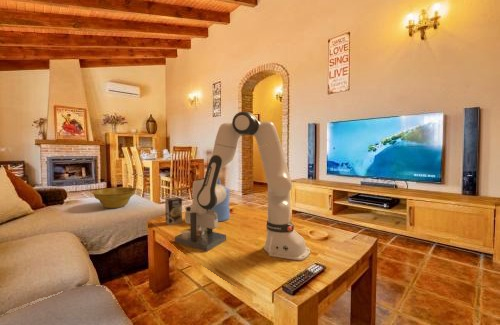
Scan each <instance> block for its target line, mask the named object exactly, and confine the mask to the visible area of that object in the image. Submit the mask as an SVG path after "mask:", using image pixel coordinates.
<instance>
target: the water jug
mask: <svg viewBox="0 0 500 325" xmlns="http://www.w3.org/2000/svg"><path fill="white" fill-rule="evenodd" d="M217 184H218V185H222V186H223V187H224V188H225V189H226V192H227V197H226V199H225V200H224V201H223V202H221V203H219V204H217V205H216V206H214V207H213V208H212V211H215V212H216V213H217V219H218V223H220V222H224V221H225V222H226V221H228V220H229V219H230V217H231V215H230V214H231V213H230V210H231V209H230V195H231V194H230V192H231V191H230V187H227V186H225V185H223V184H221V178H218V181H217Z"/></svg>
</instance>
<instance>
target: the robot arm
mask: <svg viewBox="0 0 500 325" xmlns="http://www.w3.org/2000/svg"><path fill="white" fill-rule="evenodd" d="M241 136H242V137H244V136H253V137H254V139H255V140H256V143H257V147H258V152H259V156H260V158H261V163H262V168H263V171H264V175H265V180H266V183H267V220H266V238H265V239H266V240H265V244H264V246H263V248H264V249H263V250H264V251H265V252H267V254H268V256H269V257H273V258H279V259H280V258H282V259H288V260H292V261H294V260H295V261H304V260H307V258H308V257H309V256H310V255H311V248H309V247H308V246H306V240H305V239H304V237H303V236H302V235H301V234H299V233H298V232H297V231H296V230H295V229H294V228H295V225H296V224H295V223H292V222H291V195H290V194H291V190H292V188H293V182H292V179H291V175H290V171H289V168H288V165H287V162H286V161H287V160H286V158H285V154H284V150H283V146H282V142H281V140H280V136H279V133H278V130H277V128H276V126H275V123H273V122H272V121H269V120H265V121H264V120H263V121H259V118H258V117H257V116H256V115H254V114H253V113H252V112H249V111H244V110H243V111H238V112H237V113H235V115H234V116H233V118H232V121H231V122H223V123H222V124H221V125H219V127H218V130H217V133H216V135H215V140H214V144H213V145H214V146H213V149H212V152H211V153H212V154H211V157H210V159H209V162H208V165H207V168H206V172H205V176H204V177H201V178H196V179H195V180H194V181H193V182H192V191H191V192H192V194H191V195H192V204H190V205H188V206H186V207H185V208H184V209H185V210H184V211H185V213H184V222H185V223H186V224H190V213H196V227H197V229H198V234H202V235H203V234H204V231H205V229H206V228H210V229H213V230H215V229H217V228H218V227H219V222H218V219H217V213H216V212H215V211H212V210H210V209H212V208H213V207H214V206H216V205H217V204H219V203H221V202H223V201H224V200H225V199H226V197H227V192H226V189H225V188H224V187H223V186H224V185H223V184H221V185H218V184H217V181H218V178H219V177H220V173H221V172H222V170H223V169H224V168H225V167H226V166H227V165H228V164H229V163H231V162H232V161H233V160H234V157H235V155H236V153H237V147H238V141H239V139H240V138H241ZM222 185H223V186H222ZM201 227H202V228H203V229H202V230H201ZM309 254H310V255H309Z"/></svg>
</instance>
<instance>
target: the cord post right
mask: <svg viewBox="0 0 500 325" xmlns="http://www.w3.org/2000/svg"><path fill="white" fill-rule="evenodd" d="M210 210H212V209H210ZM213 230H214V229H210V228H207V233H212V232H214V231H213Z"/></svg>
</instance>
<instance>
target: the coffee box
mask: <svg viewBox="0 0 500 325" xmlns="http://www.w3.org/2000/svg"><path fill="white" fill-rule="evenodd" d="M164 199H165V200H164V202H165V204H164V205H165V208H164V209H165V214H164V215H165V216H164V217H165V223H166V225H169V226H172V225H176V224H179V223H180V224H181V223H183V198H181V197H178V196H177V197H170V198H164Z"/></svg>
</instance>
